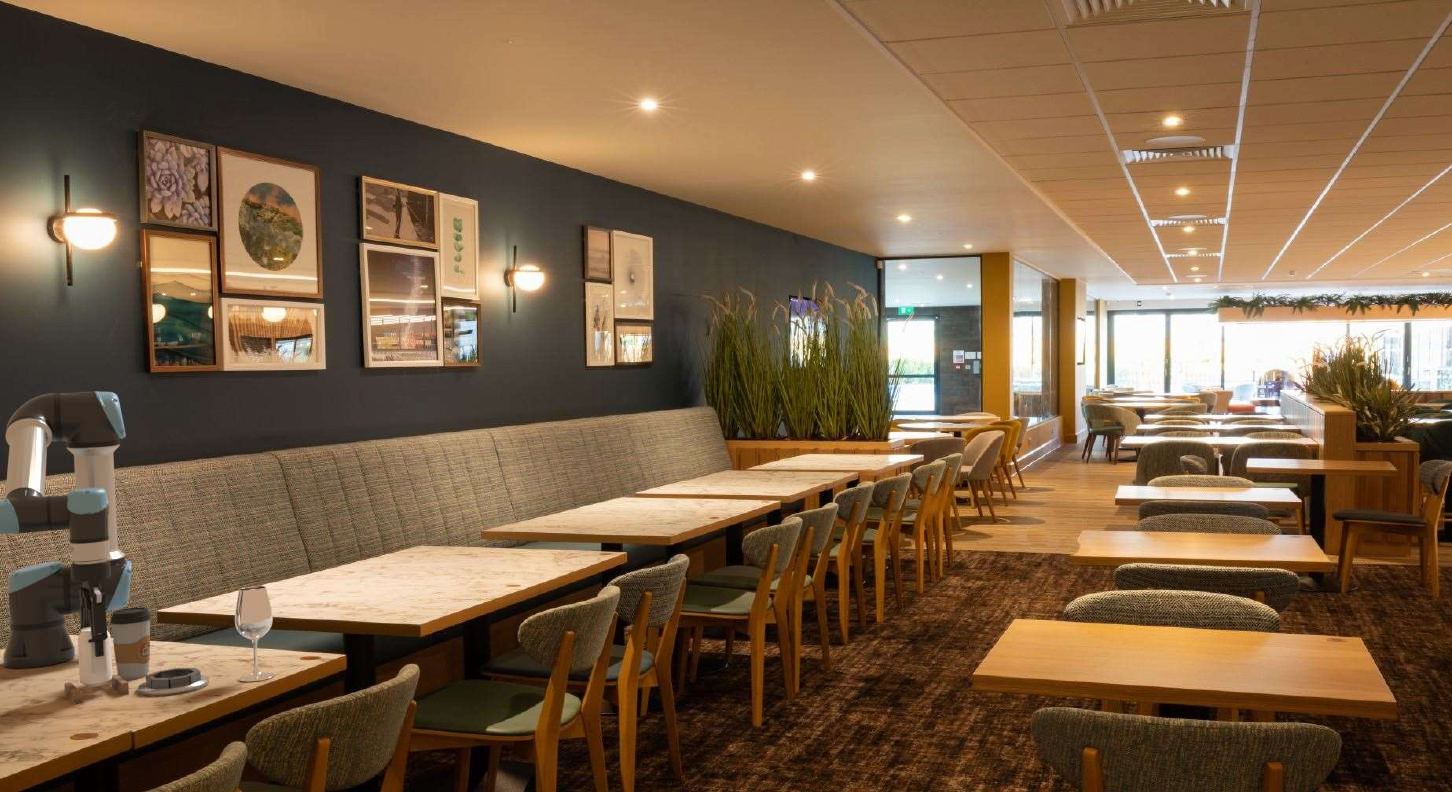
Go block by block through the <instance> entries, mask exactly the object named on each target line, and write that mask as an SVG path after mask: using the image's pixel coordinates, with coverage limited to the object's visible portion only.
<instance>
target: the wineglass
mask: <svg viewBox="0 0 1452 792" xmlns="http://www.w3.org/2000/svg"><path fill="white" fill-rule="evenodd" d="M236 600H237V601H236V606H235V613H234V624H235V625H234V626H235V628H236V631H237V632H238V633H239V634H240V635H241V636H242V637H243V638H246V639H248V640H251V642H252V647H253V648H252V649H253V666H254V667H253V670H252V671H251V673H246V674H243V675H240V676H239V677H238V678H237V680H238V681H239V682H244V683H247V682H249V683H252V682H253V683H254V682H261V681H266V680H269V679H271V678H274V677H275V673H273V672H270V671H261V670H260V669H259V665H258V641H259V639H261V638H263V637H264V636H265V635H266V634H267V633H268V632H269V631H270V629H271V628H272V625H273V620H274V619H273V612H272V611H273V610H272V605H271V601H270V596H269V593H268V590H267V588H266V585H265V586H263V585H251V586H245V587H240V588H239V589H238V593H237V599H236Z"/></svg>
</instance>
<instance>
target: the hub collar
mask: <svg viewBox="0 0 1452 792" xmlns="http://www.w3.org/2000/svg"><path fill="white" fill-rule="evenodd" d="M209 684H210V680H209V677H208V676H207V675H202V674H201V670H200V669H198V668H197V667H177V668H175V667H174V668H170V669H169V668H168V669H163V670H158V671H155V672H152V673H150V674H148V675H147V676H145V681H144V682H143V683H141V684H139V685H138V688H137V690H138V691H137V692H138V694H139V695H141V696H146V697H164V696H165V697H166V696H174V695H181V694H186V693H191V692H194V691H199V690H202V689H204V688H205V687H208V685H209Z"/></svg>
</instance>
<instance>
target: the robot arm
mask: <svg viewBox="0 0 1452 792" xmlns="http://www.w3.org/2000/svg"><path fill="white" fill-rule="evenodd" d="M124 438H126V429H125V425H124V418H123V414H122V410H121V403H120V399H119V397H118V394H116V393H115V392H112V391H97V390H96V391H81V392H65V393H64V392H62V393H61V392H60V393H55V392H52V393H45V394H41V395H38V396H35V397H33V398H31V399H29V400H28V401H26V402H25V403H24V404H22V405H21V406H20V407H19V408H17V409H16V411H15V412H13V414H12V416H11V417H10V419H9V420H8V422H7V425H6V430H5V441H6V443H7V444H8V446H9V451H8V462H7V474H6V484H5V495H4V496H5V497H4V498H3V499H0V535H9V534H11V535H18V534H27V533H28V534H29V533H38V532H41V533H42V532H51V531H64V530H65V531H66V530H68V532H69V546H70V547H68V548H67V549H66V552H67V553H70V561H71V562H72V563H71V564H70V566H64V564H63V563H62V561H49V562H43V563H38V564H33V565H29V566H26V567H22V568H19V569H17V570H14V571H13V572H10V574H9V576H8V580H7V581H8V584H7V585H8V589H7V594H8V601H9V602H8V605H9V629H10V630H9V631H10V633H9V636H8V639H7V643H6V645H5V649H4V653H3V657H2V660H3V666H4V668H9V669H11V668H12V669H27V668H28V669H29V668H37V667H38V668H39V667H44V666H51V665H52V666H53V665H56V664H61V663H63V662H64V663H65V662H68V661H70V660H72V659H74V658H75V657H76V651H75V648H76V647H75V646H74V643H73V641H72V638H71V636H70V634H69V632H68V629H67V627H66V616H67V615H69V616H70V615H77V614H80V617H79V618H80V630H81V629H83V628H87V627H90V628H91V636H92V638H91V639H89V640H88V643H91V664H92V673H94V672H100V671H106V670H107V666H106V646H105V640H106V639H107V638H108V634H107V630H108V626H107V625H108V624H107V623H108V621H107V612H108V611H109V612H110V611H116V610H121V609H125V607H126V606H127V605H128V603H129V597H130V589H131V587H130V586H131V576H132V565H133V563H132V562H131V561H130V560H126V554H125V553H124V552H122V550H120V549H119V548H118V546H119V544H118V523H117V506H116V505H117V504H116V503H117V501H116V485H115V481H116V480H115V463H114V453H115V451H116V450H117V449H118V448H119V447H120V444H121V443H120V439H121V440H122V439H124ZM52 442H66V450H67V451H69V452H70V453H71V454H72V455H73V461H74V463H73V464H74V479H75V480H74V482H75V489H72V490H70V491H69V492H68V493H67V495H66V494H65V495H52V496H50V495H48V496H46V475H47V450H48V447H49V446H50V445H51V444H52ZM100 633H101V634H100Z"/></svg>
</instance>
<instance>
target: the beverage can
mask: <svg viewBox="0 0 1452 792" xmlns="http://www.w3.org/2000/svg"><path fill="white" fill-rule="evenodd" d="M100 634H101V633H100ZM107 634H108V638H107V639H106V640H105V646H106V666H107V670H106V671H100V672H94V673H92V664H91V643H88V640H89V639H91V638H92V636H91V628H90V627H87V628H83V629H80V633H79V635H78V637H77V648H78V649H77V652H78V653H77V654H78V671H79V672H78V673H79V683H80V684H81V685H84V686H85V687H88V688H92V687H93V688H94V687H100V686H104V685H107V684H108V683H109V682H110V681H112V680H111V679H112V675H113V665H112V642H111V641H112V640H111V639H112V638H111V634H110V632H109V630H108V629H107Z"/></svg>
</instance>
